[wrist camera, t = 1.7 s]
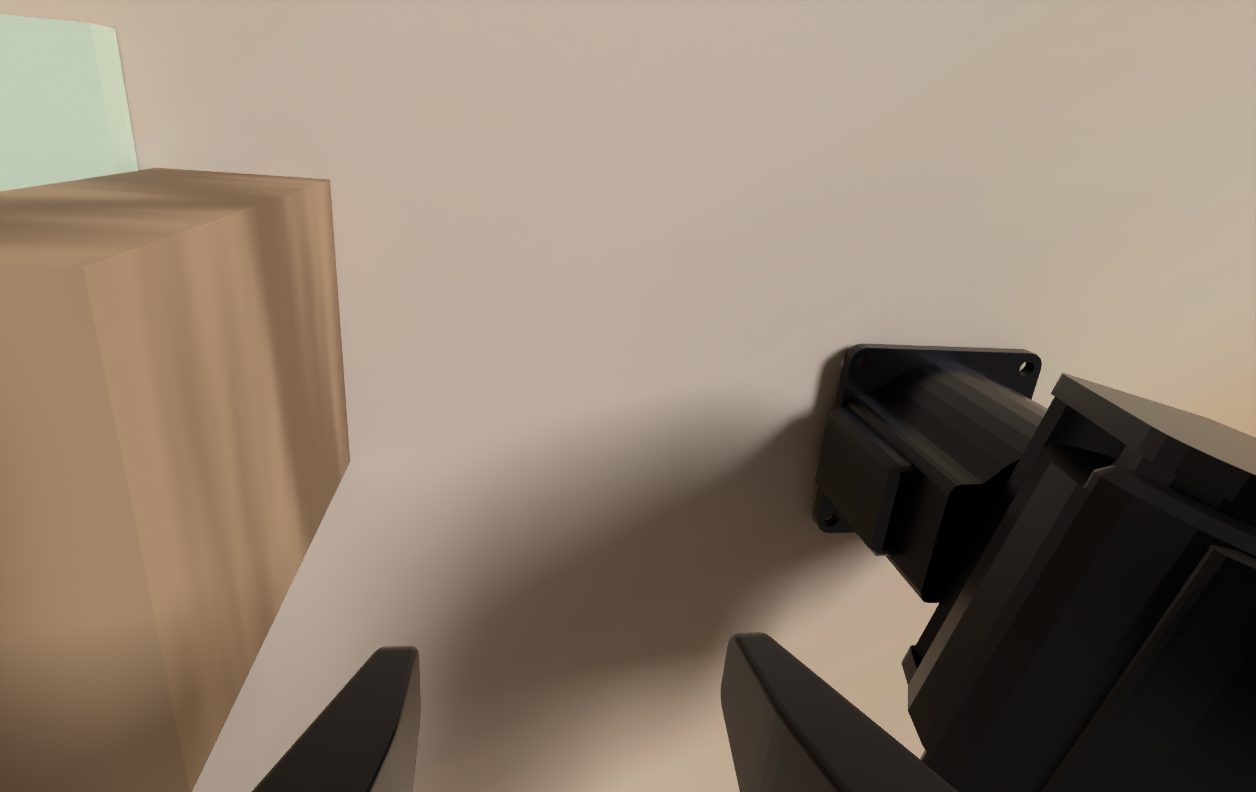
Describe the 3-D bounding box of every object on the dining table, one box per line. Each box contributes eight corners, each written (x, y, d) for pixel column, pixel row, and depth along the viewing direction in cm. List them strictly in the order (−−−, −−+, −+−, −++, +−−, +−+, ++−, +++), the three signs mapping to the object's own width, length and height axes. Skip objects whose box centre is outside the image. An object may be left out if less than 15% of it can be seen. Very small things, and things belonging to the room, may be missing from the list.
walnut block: (329, 179, 18) (83, 267, 8) (350, 461, 21) (190, 794, 11) (156, 168, 17) (-364, 246, 7) (203, 460, 20) (-118, 814, 10)
